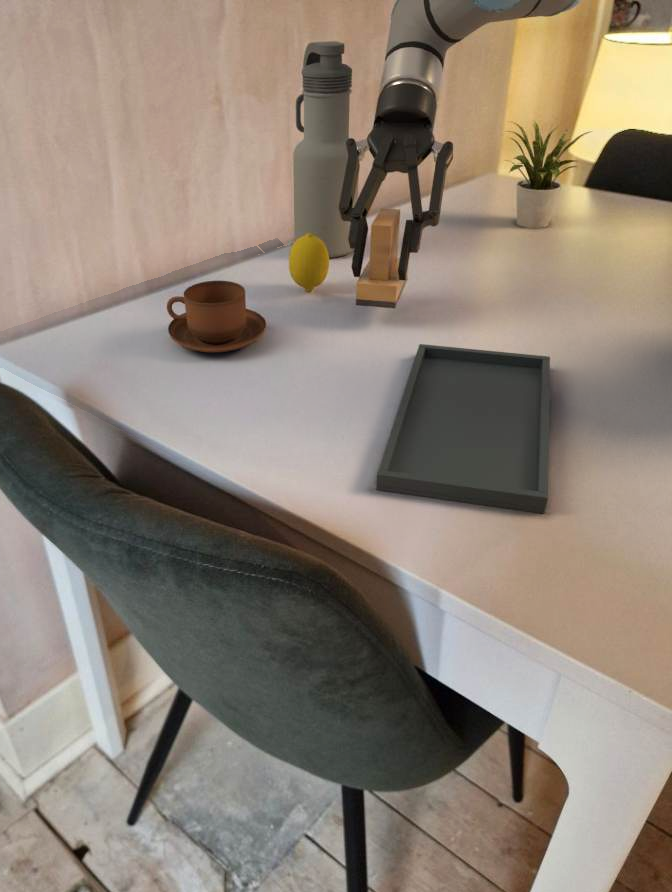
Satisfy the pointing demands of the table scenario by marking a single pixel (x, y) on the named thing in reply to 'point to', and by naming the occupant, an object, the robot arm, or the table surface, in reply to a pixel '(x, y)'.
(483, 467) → the tray
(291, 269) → the lemon
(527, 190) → the house plant
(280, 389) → the table surface
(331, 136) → the water bottle
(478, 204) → the table surface
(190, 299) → the cup and saucer
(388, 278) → the wooden block on base
